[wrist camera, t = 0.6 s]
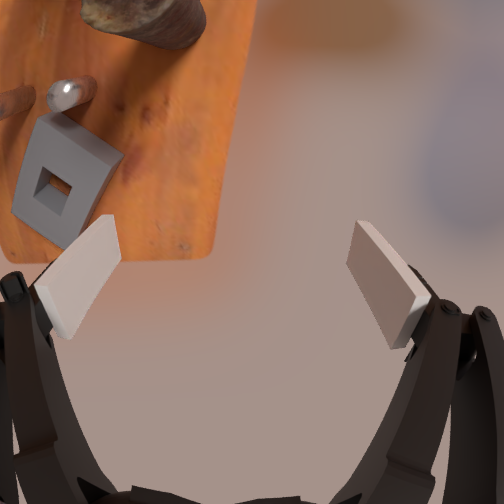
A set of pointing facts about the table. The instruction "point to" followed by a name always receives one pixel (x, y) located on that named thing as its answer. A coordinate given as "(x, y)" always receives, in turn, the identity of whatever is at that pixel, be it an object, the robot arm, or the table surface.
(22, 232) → the table surface
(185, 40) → the brown textured cylinder
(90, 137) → the guide block
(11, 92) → the long pin
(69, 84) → the short pin
